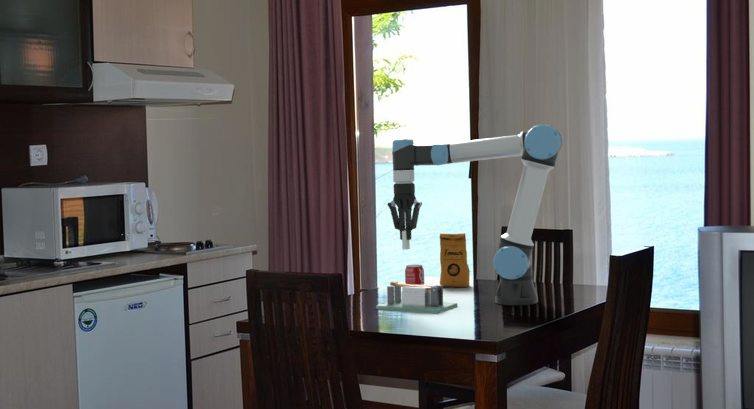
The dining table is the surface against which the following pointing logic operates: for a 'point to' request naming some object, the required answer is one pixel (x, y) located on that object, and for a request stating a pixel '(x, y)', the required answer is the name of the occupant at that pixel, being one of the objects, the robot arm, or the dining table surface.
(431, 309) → the board
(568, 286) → the dining table surface
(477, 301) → the dining table surface
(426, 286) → the strap
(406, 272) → the soda can
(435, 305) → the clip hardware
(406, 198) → the robot arm
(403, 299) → the heat sink
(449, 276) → the coffee package
